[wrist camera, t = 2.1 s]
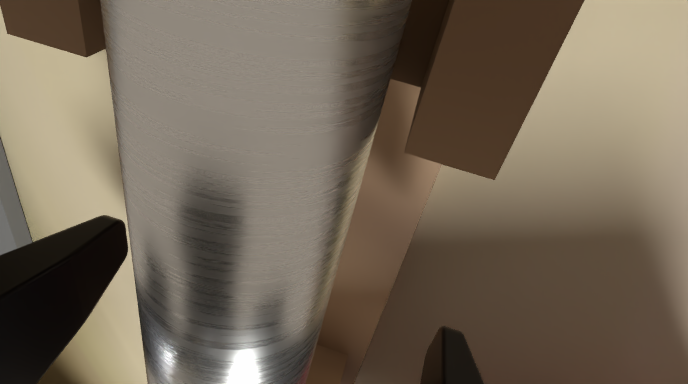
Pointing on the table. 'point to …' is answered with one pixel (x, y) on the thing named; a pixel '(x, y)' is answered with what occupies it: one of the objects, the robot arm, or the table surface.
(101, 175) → the table surface
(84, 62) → the table surface
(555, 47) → the rack
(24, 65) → the table surface
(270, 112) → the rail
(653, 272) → the table surface
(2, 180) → the mat
